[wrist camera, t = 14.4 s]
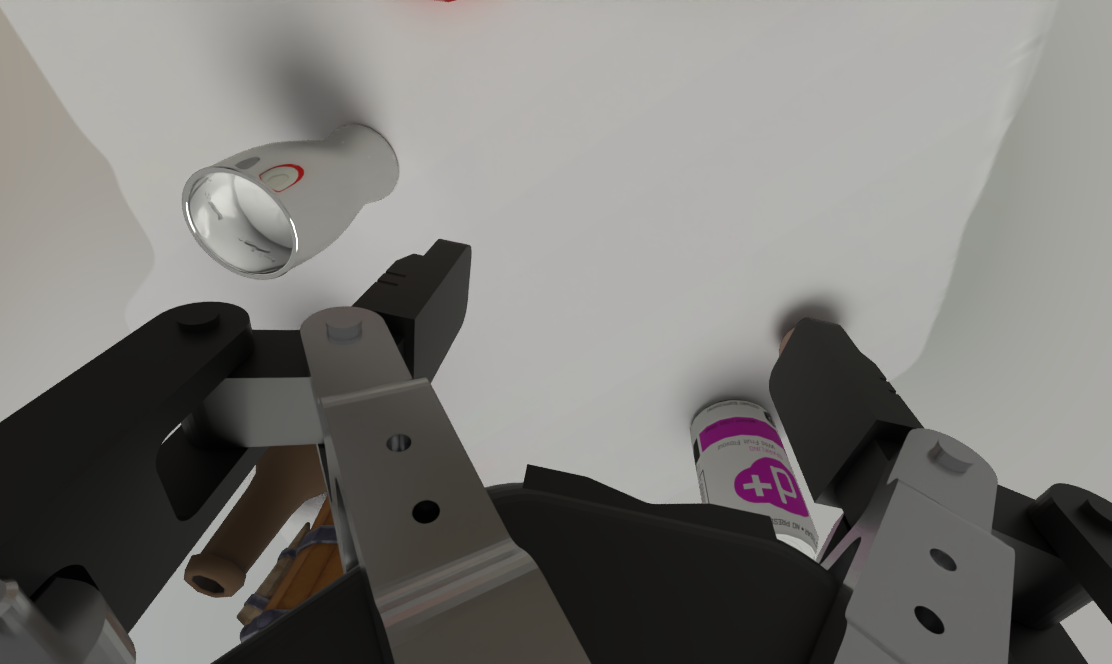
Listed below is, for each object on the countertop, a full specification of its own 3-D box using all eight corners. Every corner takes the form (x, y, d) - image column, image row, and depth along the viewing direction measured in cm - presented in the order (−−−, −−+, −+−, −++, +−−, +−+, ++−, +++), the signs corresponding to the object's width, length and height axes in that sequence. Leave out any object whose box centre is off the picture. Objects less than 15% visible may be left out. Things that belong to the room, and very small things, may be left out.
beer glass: (400, 215, 41) (303, 297, 29) (321, 191, 41) (187, 263, 28) (408, 133, 37) (300, 185, 25) (321, 105, 37) (166, 144, 24)
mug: (346, 539, 69) (257, 703, 52) (280, 472, 62) (153, 635, 45) (460, 516, 63) (401, 694, 46) (399, 440, 56) (305, 614, 39)
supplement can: (712, 385, 47) (746, 515, 34) (789, 411, 47) (849, 549, 35) (675, 439, 51) (693, 573, 39) (746, 463, 52) (786, 602, 39)
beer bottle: (404, 339, 48) (249, 560, 28) (410, 397, 52) (279, 627, 32) (330, 328, 49) (124, 540, 28) (342, 387, 53) (170, 608, 33)
